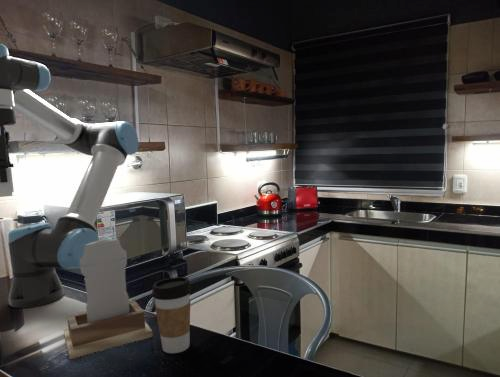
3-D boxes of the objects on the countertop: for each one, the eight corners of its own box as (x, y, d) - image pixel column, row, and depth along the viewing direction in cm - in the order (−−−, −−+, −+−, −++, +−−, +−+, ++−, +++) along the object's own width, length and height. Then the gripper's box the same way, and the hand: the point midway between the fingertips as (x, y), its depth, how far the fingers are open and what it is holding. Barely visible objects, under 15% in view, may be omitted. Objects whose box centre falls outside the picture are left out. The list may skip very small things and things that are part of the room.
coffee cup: (187, 357, 85) (182, 287, 84) (150, 355, 87) (144, 287, 86) (200, 338, 93) (195, 275, 92) (165, 337, 95) (160, 274, 94)
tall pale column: (130, 320, 102) (122, 234, 100) (135, 326, 99) (127, 237, 96) (85, 333, 96) (76, 241, 94) (88, 339, 93) (79, 244, 91)
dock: (64, 335, 99) (61, 313, 99) (138, 317, 108) (136, 296, 108) (69, 359, 87) (67, 335, 87) (152, 336, 96) (150, 314, 95)
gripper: (-17, 113, 109) (-8, 192, 111) (-27, 102, 87) (-15, 200, 90) (15, 113, 113) (23, 189, 115) (13, 102, 91) (23, 196, 93)
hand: (6, 194), depth 102 cm, fingers open, 13 cm apart
